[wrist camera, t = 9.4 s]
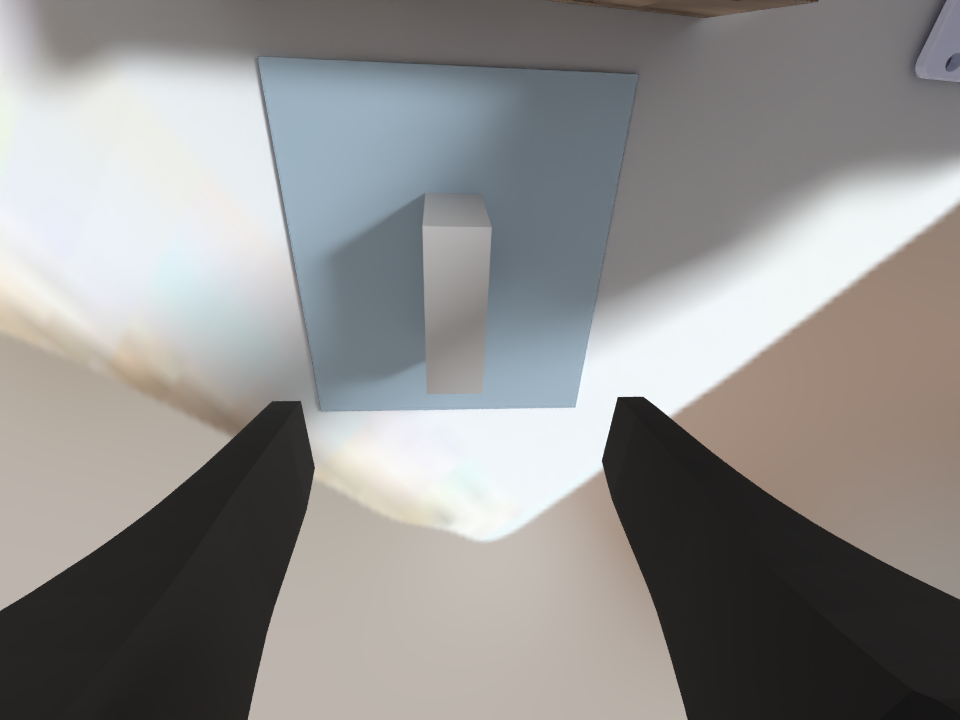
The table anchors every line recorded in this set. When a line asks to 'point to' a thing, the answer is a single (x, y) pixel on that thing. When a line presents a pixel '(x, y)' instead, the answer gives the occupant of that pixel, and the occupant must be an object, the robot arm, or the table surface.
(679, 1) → the walnut box
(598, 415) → the table surface
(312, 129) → the cover plate
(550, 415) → the table surface
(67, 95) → the table surface
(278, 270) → the table surface
